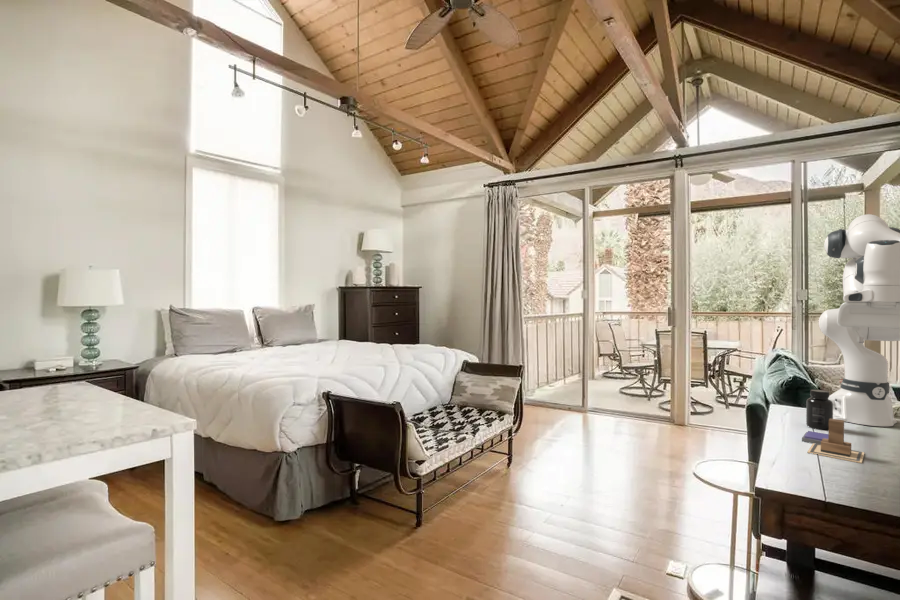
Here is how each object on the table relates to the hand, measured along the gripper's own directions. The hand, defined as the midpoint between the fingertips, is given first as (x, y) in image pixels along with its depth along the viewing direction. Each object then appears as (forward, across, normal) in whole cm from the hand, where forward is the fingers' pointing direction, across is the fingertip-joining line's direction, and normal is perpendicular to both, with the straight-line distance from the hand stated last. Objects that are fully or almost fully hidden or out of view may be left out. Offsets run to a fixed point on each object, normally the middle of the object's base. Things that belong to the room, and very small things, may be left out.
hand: (882, 344), depth 133 cm
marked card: (+29, +8, +20) cm, 36 cm away
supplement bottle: (+29, +15, -10) cm, 34 cm away
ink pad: (+29, +12, +8) cm, 33 cm away
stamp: (+29, +8, +20) cm, 36 cm away
